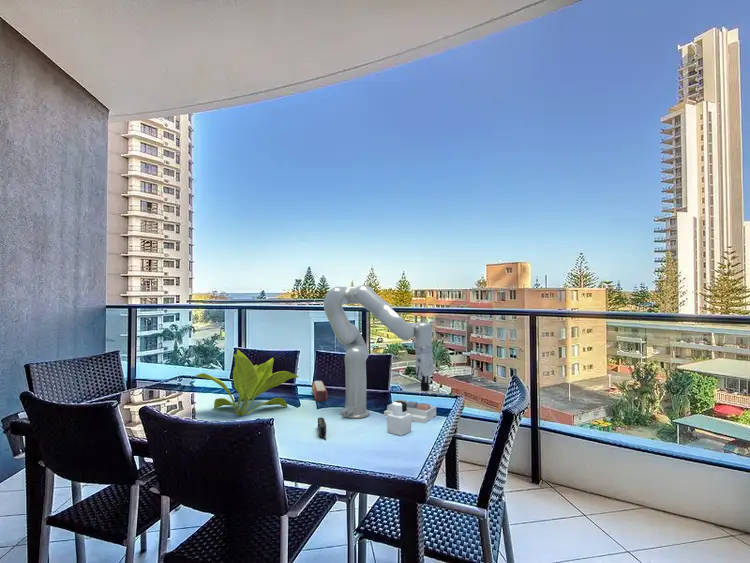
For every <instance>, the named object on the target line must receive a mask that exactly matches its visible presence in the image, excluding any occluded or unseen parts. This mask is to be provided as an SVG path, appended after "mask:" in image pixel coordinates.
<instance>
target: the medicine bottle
mask: <svg viewBox="0 0 750 563" xmlns="http://www.w3.org/2000/svg"><path fill="white" fill-rule="evenodd" d="M394 401H395V402H394ZM394 401H393V402H392V403H391V404H392V413H390V414H388V415H387V416H386V417H387V418H386V426H387V428H386V431H387V433H390V434H392V435H397V436H400V437H402V436H404V434H405V435H406V434H408V433H411V432H412V421H411V414H409V413H407V403H406V402H407V401H406V402H404V401H396V400H394Z"/></svg>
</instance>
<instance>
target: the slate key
mask: <svg viewBox="0 0 750 563" xmlns="http://www.w3.org/2000/svg"><path fill="white" fill-rule="evenodd" d="M406 402H407V407H409V408H416V407H417V405H418V404H419V402H417V401H411V400H409V401H406Z"/></svg>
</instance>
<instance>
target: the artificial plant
mask: <svg viewBox="0 0 750 563" xmlns="http://www.w3.org/2000/svg"><path fill="white" fill-rule="evenodd" d="M232 356H233V357H234V363H235V364H234V367H233V372H232V379H233V384H234V385H233V386H234V388H235V391H236V392H237V394H238V399H237V400H238V401H237V405H236V402H235V400H234V397H233V396H232V393H231V391H230V389H229V387H228V386H227V385H226V383H225V382H223V381H222V380H221V379H219V378H217V377H216V376H215V377H214V376H213V375H210V374H207V373H204V372H201V373H199V374H195V375H194V377H198V378H202V379H208V380H210V381H212V382H214V383H216V384H217V385H219V386H220V387H221V388H222V389H223V390H224V391H225V392H226V393H227V394H228V395H229V398H230V399H231V401H232V402H231V401H230V400H229V399H227V398H224V397H221V398H216V399H215V400H214V402H213V408H214V409H217V408H220V407H223V406H231V407H234V411H235V413H234V414H235V415H236V416H240V417H241V416H245V415H246V416H249V415H251V413H252V411H254V410H255V409H257V408H259V407H260V406H261V407H262V406H263V405H264V406H275V405H276V406H278V405H279V406H282V407H284V408H289V407H288V404H287V402H286V400H285V399H284V398H282V397H275V398H271V399H269V400H268V401H264V402H262V403H260V404H258V405H256V406H254V407H253V408H252V409H251V410H250V411H248V410H249V407H251V406H250V405H252V403H253V402H254V400H255V399H256V398H257V397H259V396H260V395H262V394H263V393H265V392H266V391H268V390H270V389H273V388H276V387H278V386H281V385H282V384H284V383H285V382H287V381H288V380H291V379H296V378H297V379H298V378H299V377H300V376H298V375H297V374H294V373H292V372H291V371H286V370H282V371H277V372H274V373H273V366H274V361H275V359H274V357H272V358H270V359H269V360H266V362H263V363H261V364H259V365H258V364H253V363H252V361H251V360H250V359H249V358H248V357H247V355H245V354H244V353H243V352H241V350H239V349H237V350H236V354H234V353H232ZM241 403H242V404H241ZM247 404H248V405H247ZM246 405H247V406H246Z"/></svg>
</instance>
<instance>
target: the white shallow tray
mask: <svg viewBox="0 0 750 563" xmlns="http://www.w3.org/2000/svg"><path fill="white" fill-rule="evenodd" d="M407 402H408V401H406V403H407ZM390 413H392V403H390V404H388V405H386V410H384V411H383V417H387V415H388V414H390ZM407 413H409V414H411V422H415V423H419V422H421V423H420V424H425V422H426V423H427V422H428V420H429V421H430V420H432V419H433V418H435V417H436V416H437V406H434V405H430V409H428V410H421V409H417V407H416V408H409V407H407ZM434 416H435V417H434Z"/></svg>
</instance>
